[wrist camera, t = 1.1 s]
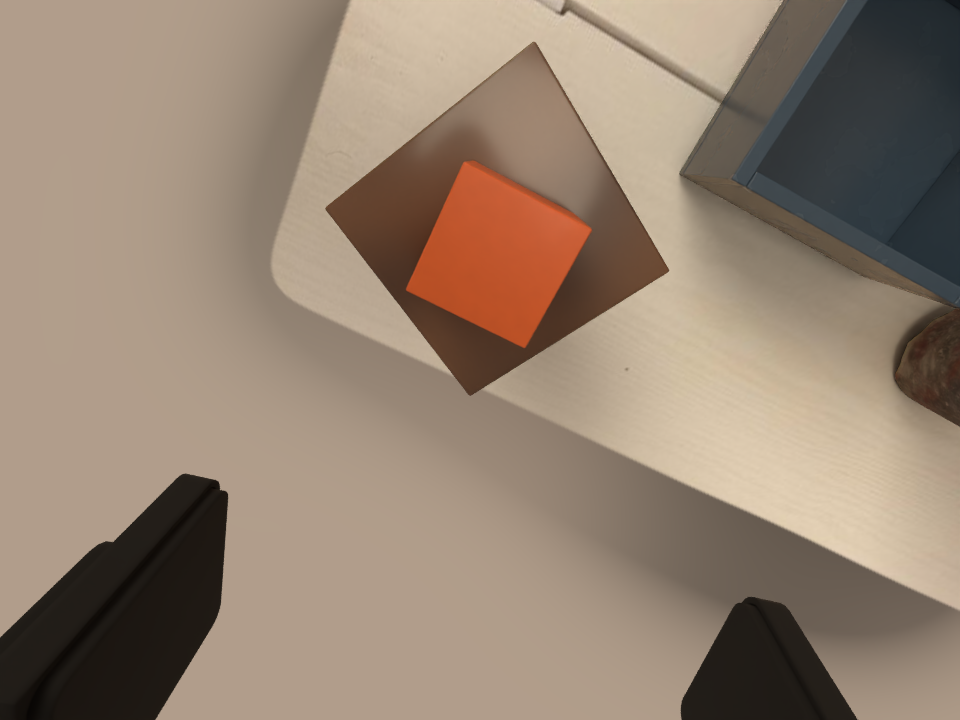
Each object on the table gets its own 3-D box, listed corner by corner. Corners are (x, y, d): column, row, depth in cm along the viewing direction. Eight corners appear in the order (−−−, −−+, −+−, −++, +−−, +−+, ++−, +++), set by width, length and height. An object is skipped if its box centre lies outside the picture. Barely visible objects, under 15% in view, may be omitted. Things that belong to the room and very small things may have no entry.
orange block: (424, 264, 22) (404, 290, 18) (472, 159, 20) (464, 160, 16) (521, 312, 22) (525, 349, 18) (575, 214, 21) (593, 229, 16)
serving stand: (386, 190, 32) (324, 208, 21) (524, 83, 30) (534, 39, 19) (481, 319, 35) (469, 397, 24) (614, 231, 33) (670, 271, 21)
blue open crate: (678, 173, 31) (731, 179, 24) (833, -84, 27) (957, -174, 19) (864, 277, 33) (966, 311, 26) (1041, 52, 28) (1227, 16, 21)
